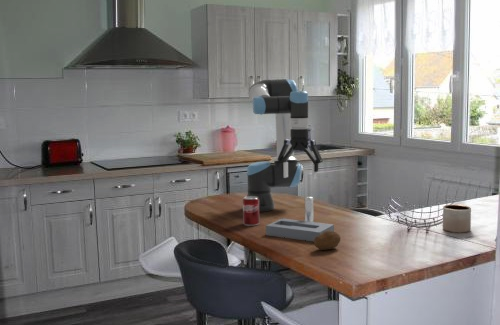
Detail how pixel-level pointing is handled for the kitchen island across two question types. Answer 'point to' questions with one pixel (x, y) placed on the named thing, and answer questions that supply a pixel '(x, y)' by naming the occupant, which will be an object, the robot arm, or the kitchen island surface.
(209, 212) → the kitchen island surface
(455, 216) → the planter
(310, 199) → the peg
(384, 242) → the kitchen island surface
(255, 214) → the soda can
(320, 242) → the potato
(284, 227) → the keyhole board
